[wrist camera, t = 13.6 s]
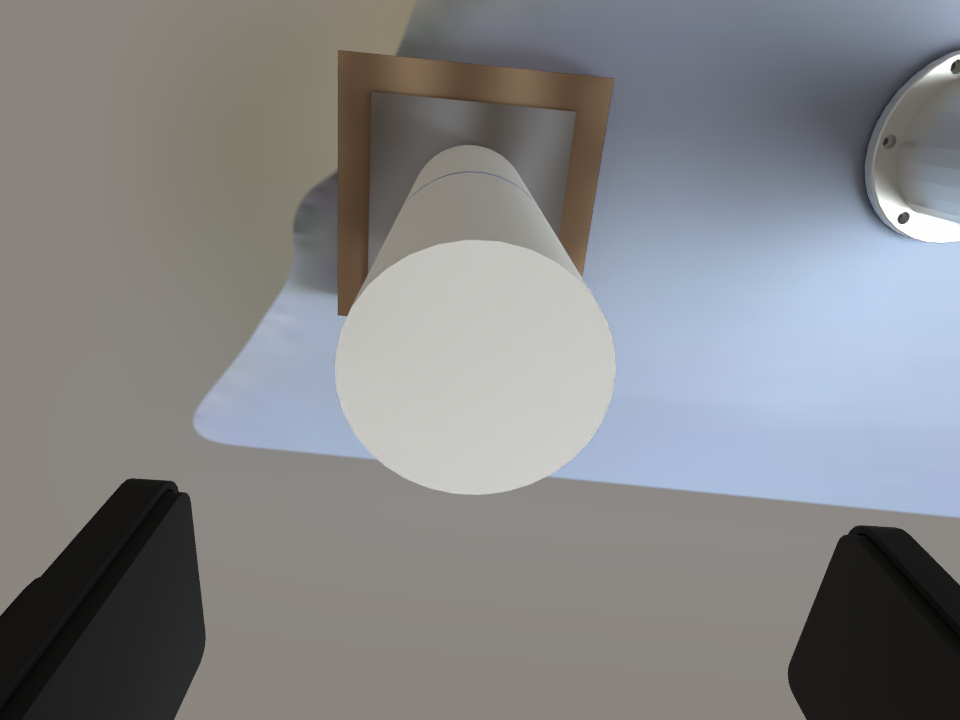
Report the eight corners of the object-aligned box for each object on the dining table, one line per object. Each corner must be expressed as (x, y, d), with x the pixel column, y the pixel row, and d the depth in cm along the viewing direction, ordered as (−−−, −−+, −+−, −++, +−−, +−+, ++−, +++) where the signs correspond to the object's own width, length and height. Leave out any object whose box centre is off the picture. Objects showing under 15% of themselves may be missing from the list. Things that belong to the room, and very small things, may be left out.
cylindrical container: (548, 218, 39) (667, 405, 16) (457, 282, 41) (447, 536, 18) (482, 119, 37) (511, 176, 14) (387, 192, 38) (274, 351, 15)
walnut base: (599, 79, 40) (615, 78, 36) (564, 313, 46) (574, 335, 42) (349, 53, 39) (336, 49, 35) (347, 297, 45) (336, 317, 41)
